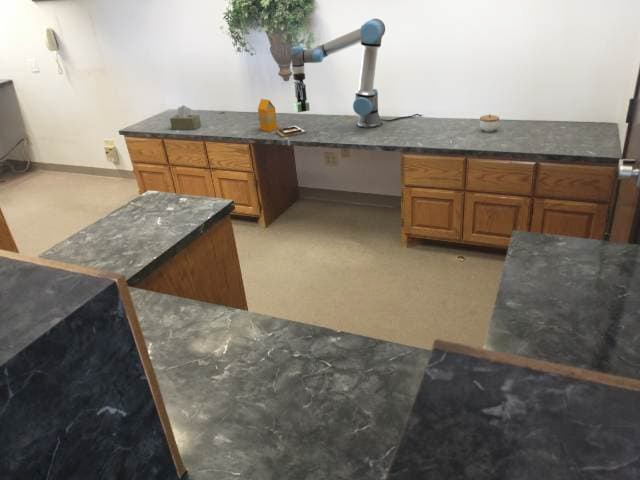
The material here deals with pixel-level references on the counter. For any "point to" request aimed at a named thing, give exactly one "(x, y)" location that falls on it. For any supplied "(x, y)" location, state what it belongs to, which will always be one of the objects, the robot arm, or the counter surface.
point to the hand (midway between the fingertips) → (302, 110)
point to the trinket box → (489, 122)
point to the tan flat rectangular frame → (289, 131)
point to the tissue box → (185, 120)
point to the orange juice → (267, 116)
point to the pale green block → (298, 106)
